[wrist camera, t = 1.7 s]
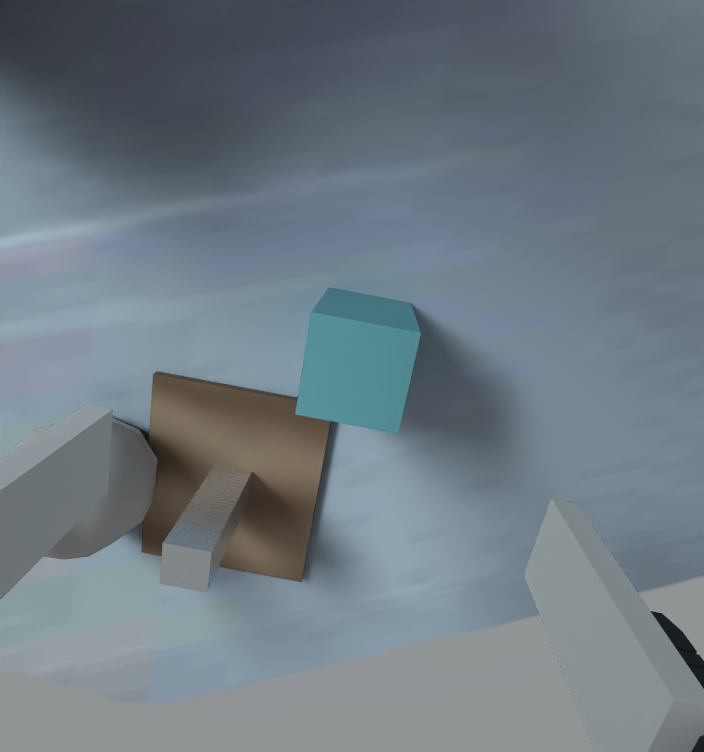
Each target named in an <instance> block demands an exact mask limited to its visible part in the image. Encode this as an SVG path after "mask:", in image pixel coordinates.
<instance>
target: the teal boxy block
mask: <svg viewBox="0 0 704 752" xmlns="http://www.w3.org/2000/svg"><path fill="white" fill-rule="evenodd" d="M420 336H421V331H420V328H419V325H418V323H417V320H416V317H415V314H414V311H413V308H412V306H411V303H407V302H402V301H396V300H391V299H386V298H380V297H375V296H370V295H365V294H359V293H354V292H349V291H343V290H338V289H333V288H328V290H327V291H326V292H325V294H324V295H323V297H322V298H321V299H320V301H319V302H318V304H317V305H316V306H315V308H314V309H313V310H312V312H311V317H310V324H309V330H308V336H307V343H306V349H305V355H304V362H303V368H302V374H301V381H300V387H299V393H298V400H297V406H296V412H295V414H296V415H301V416H306V417H312V418H317V419H322V420H328V421H333V422H338V423H344V424H349V425H354V426H360V427H365V428H370V429H376V430H381V431H386V432H392V433H397V434H398V433H399V429H400V424H401V420H402V415H403V411H404V406H405V402H406V398H407V393H408V389H409V384H410V380H411V375H412V371H413V367H414V362H415V358H416V353H417V349H418V345H419V340H420Z"/></svg>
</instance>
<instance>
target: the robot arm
mask: <svg viewBox="0 0 704 752" xmlns="http://www.w3.org/2000/svg"><path fill="white" fill-rule="evenodd" d="M112 413H113V409H108V408H104V407H99V406H94V405H89V404H86V405H85V406H83V407H82V408H80V409H79V410H77V411H75V412H74V413H72V414H71V415H69V416H68V417H66V418H64V419H63V420H61V421H60V422H58V423H57V424H55V425H54V426H52V427H50V428H49V429H47V430H46V431H44V432H43V433H41V434H40V435H38V436H36V437H35V438H33V439H32V440H30V441H29V442H27V443H26V444H24V445H22V446H21V447H19V448H18V449H16V450H15V451H13V452H11V453H10V454H8V455H7V456H5V457H4V458H2V459H1V460H0V600H1V599H2V598H3V597H4V596H5V595H6V594H7V593H8V592H9V591H10V590H11V589H12V588H13V587H14V586H15V585H16V584H17V583H18V581H19V580H20V579H21V578H22V577H23V576H24V575H25V574H26V573H27V572H28V571H29V570H30V569H31V568H32V567H33V566H34V565H35V564H36V563H37V562H38V561H39V560H40V559H41V558H42V557H43V556H44V555H45V554H46V553H47V552H48V551H49V550H50V549H51V548H52V547H53V546H54V545H55V544H56V543H57V542H58V541H59V540H60V539H61V538H62V537H63V536H64V535H65V534H66V533H67V532H68V531H69V530H70V529H71V528H72V527H73V526H74V525H75V524H76V523H77V522H78V521H79V520H80V519H81V518H82V517H83V516H84V515H85V514H86V513H87V512H88V511H89V510H90V509H91V508H92V507H93V506H94V505H95V504H96V503H97V502H98V501H99V500H100V499H101V498H102V497H103V496H104V495H105V494H106V493H107V492H108V480H109V463H110V446H111V430H112ZM524 577H525V579H526V582H527V584H528V587H529V589H530V592H531V594H532V597H533V599H534V602H535V604H536V607H537V609H538V612H539V614H540V617H541V619H542V622H543V624H544V626H545V629H546V632H547V634H548V637H549V639H550V642H551V644H552V647H553V649H554V652H555V654H556V656H557V659H558V662H559V664H560V667H561V669H562V672H563V674H564V677H565V679H566V681H567V684H568V686H569V689H570V691H571V694H572V696H573V699H574V701H575V704H576V706H577V709H578V711H579V714H580V716H581V719H582V721H583V724H584V726H585V729H586V731H587V734H588V736H589V739H590V741H591V744H592V746H593V749H594V751H595V752H704V661H703V659H702V658H701V657H700V655H697V654H696V652H697V651H696V650H695V648H694V647H693V646H692V644H691V643H690V641H689V640H688V639H687V637H686V636H685V635H684V633H683V632H682V631H681V630H680V629H678V627H677V626H675V625H674V624H673V623H672V622H671V621H670V620H669V619H668V618H666V617H665V616H664V615H663V614H662V613H657V612H652V611H650V610H649V608H648V607H647V606H646V604H645V603H644V601H643V600H642V598H641V597H640V595H639V594H638V592H637V591H636V589H635V588H634V587H633V585H632V584H631V582H630V581H629V579H628V578H627V576H626V575H625V573H624V572H623V570H622V569H621V568H620V566H619V565H618V563H617V562H616V560H615V559H614V557H613V556H612V554H611V553H610V552H609V550H608V549H607V547H606V546H605V544H604V543H603V541H602V540H601V538H600V537H599V535H598V534H597V533H596V531H595V530H594V528H593V527H592V525H591V524H590V522H589V521H588V519H587V518H586V517H585V515H584V514H583V512H582V511H581V509H580V508H579V506H578V505H577V504H576V503H571V502H567V501H562V500H557V499H552V498H551V500H550V503H549V506H548V509H547V512H546V514H545V517H544V520H543V523H542V526H541V528H540V531H539V534H538V537H537V539H536V542H535V545H534V548H533V551H532V553H531V556H530V559H529V562H528V564H527V567H526V570H525V573H524Z"/></svg>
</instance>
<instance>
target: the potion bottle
mask: <svg viewBox="0 0 704 752" xmlns="http://www.w3.org/2000/svg"><path fill="white" fill-rule="evenodd" d="M55 424H57V423H55ZM55 424H52V425H48V426H45V427H41V428H38V429H34V430H33V431H32V432H31V433H30V434H29V435H28V436H27V437H26V438H25V439H24V440H23V441H22V442H21V443H20V444H19V445H18V446H17V447H16V448H15V449H14V451H15V450H16V449H18V448H19V447H21V446H22V445H24V444H26V443H27V442H29V441H30V440H32V439H33V438H35V437H36V436H38V435H40V434H41V433H43V432H44V431H46V430H47V429H49V428H50V427H52V426H54V425H55ZM157 466H158V457H157V456H156V454H155V453H154V451H153V449H152V448H151V446H150V445H149V443H148V441H147V440H146V438H145V437H144V435H143V434H142V432H141V430H140V429H138V428H136V427H134V426H131V425H129V424H127V423H125V422H122V421H120V420H118V419H116V418H113V417H112V430H111V446H110V463H109V480H108V492H107V493H106V494H105V495H104V496H103V497H102V498H101V499H100V500H99V501H98V502H97V503H96V504H95V505H94V506H93V507H92V508H91V509H90V510H89V511H88V512H87V513H86V514H85V515H84V516H83V517H82V518H81V519H80V520H79V521H78V522H77V523H76V524H75V525H74V526H73V527H72V528H71V529H70V530H69V531H68V532H67V533H66V534H65V535H64V536H63V537H62V538H61V539H60V540H59V541H58V542H57V543H56V544H55V545H54V546H53V547H52V548H51V549H50V550H49V551H48V552H47V553H46V554H45V555H44V556H43V557H51V558H58V559H72V558H80V557H88V556H90V555H92V554H94V553H96V552H98V551H99V550H101V549H103V548H105V547H107V546H108V545H110V544H112V543H113V542H115V541H116V540H117V539H119V538H120V537H122V536H123V535H124V534H126V533H127V532H129V531H130V530H131V529H133V528H134V527H136V526H137V525H138V524H140V523H141V522H142V521H143V519H144V517H145V515H146V513H147V511H148V509H149V507H150V505H151V503H152V498H153V490H154V489H155V485H156V476H157Z"/></svg>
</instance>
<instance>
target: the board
mask: <svg viewBox="0 0 704 752" xmlns="http://www.w3.org/2000/svg"><path fill="white" fill-rule="evenodd" d="M297 400H298V398H296V397H290V396H285V395H280V394H275V393H269V392H264V391H259V390H253V389H248V388H243V387H237V386H232V385H227V384H221V383H216V382H211V381H205V380H200V379H195V378H189V377H184V376H179V375H173V374H168V373H163V372H155V373H154V374H153V385H152V400H151V415H150V430H149V445H150V446H151V448H152V449H153V451H154V453H155V454H156V456H157V457H158V466H157V476H156V485H155V489H154V490H153V498H152V503H151V505H150V507H149V509H148V511H147V513H146V515H145V517H144V521H143V536H142V551H141V552H143V553H149V554H154V555H159V556H162V546H163V542H164V540H165V539H166V537H167V536H168V534H169V533H170V531H171V530H172V528H173V527H174V525H175V524H176V522H177V521H178V519H179V518H180V516H181V515H182V513H183V512H184V510H185V509H186V507H187V506H188V504H189V503H190V501H191V500H192V498H193V497H194V495H195V494H196V492H197V491H198V489H199V488H200V486H201V485H202V483H203V482H204V480H205V479H206V477H207V476H208V474H209V473H210V471H211V470H212V468H213V467H214V465H215V464H217V465H222V466H228V467H233V468H238V469H244V470H249V471H252V476H251V484H250V491H249V498H248V504H247V506H246V509H245V511H244V513H243V515H242V517H241V519H240V522H239V524H238V526H237V528H236V530H235V533H234V535H233V537H232V539H231V541H230V543H229V546H228V548H227V550H226V552H225V554H224V556H223V559H222V561H221V563H220V565H219V567H224V568H229V569H235V570H240V571H245V572H251V573H256V574H261V575H267V576H272V577H278V578H283V579H288V580H294V581H299V582H301V581H302V577H303V571H304V566H305V560H306V554H307V549H308V543H309V538H310V532H311V527H312V521H313V516H314V510H315V505H316V499H317V494H318V488H319V483H320V477H321V472H322V466H323V461H324V455H325V450H326V444H327V439H328V433H329V428H330V422H331V421H328V420H322V419H317V418H312V417H306V416H301V415H296V414H295V412H296V406H297Z"/></svg>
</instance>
